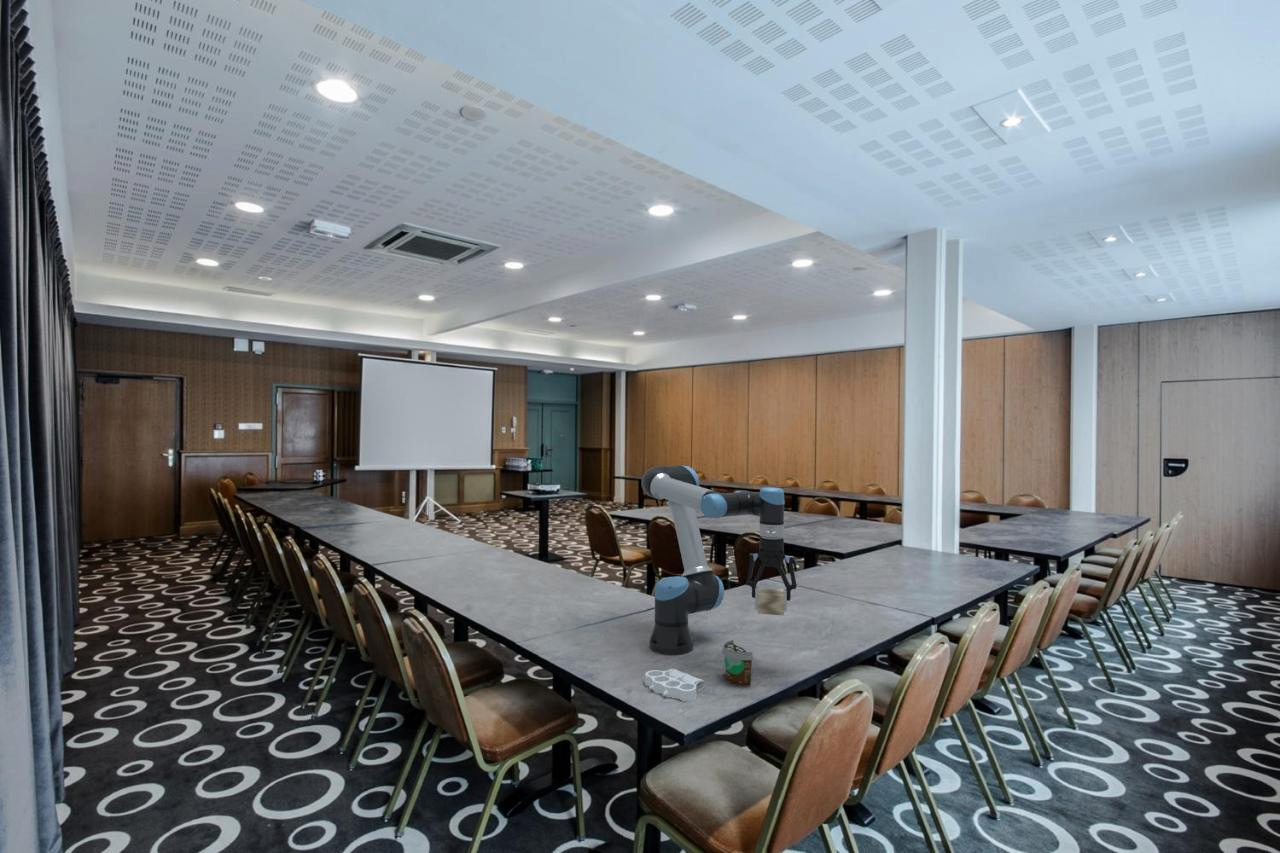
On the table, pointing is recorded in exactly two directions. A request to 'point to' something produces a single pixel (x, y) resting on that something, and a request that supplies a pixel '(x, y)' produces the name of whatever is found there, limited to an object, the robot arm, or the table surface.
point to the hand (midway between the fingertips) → (770, 609)
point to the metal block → (771, 601)
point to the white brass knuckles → (674, 684)
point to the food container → (737, 664)
